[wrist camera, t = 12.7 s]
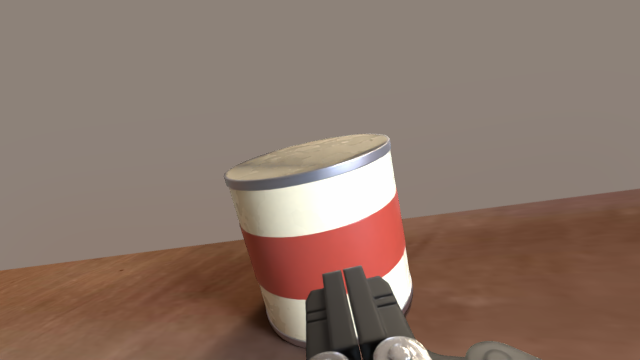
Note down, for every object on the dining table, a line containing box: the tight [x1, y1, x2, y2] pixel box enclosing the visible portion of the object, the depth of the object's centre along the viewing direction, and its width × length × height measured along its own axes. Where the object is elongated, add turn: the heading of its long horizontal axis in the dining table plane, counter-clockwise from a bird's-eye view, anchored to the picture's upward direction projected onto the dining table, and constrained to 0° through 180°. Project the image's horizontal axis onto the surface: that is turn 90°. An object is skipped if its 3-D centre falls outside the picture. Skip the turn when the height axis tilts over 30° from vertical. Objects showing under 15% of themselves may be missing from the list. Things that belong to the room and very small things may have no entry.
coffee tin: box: [224, 134, 413, 348], centre depth 26 cm, size 13×13×13 cm
